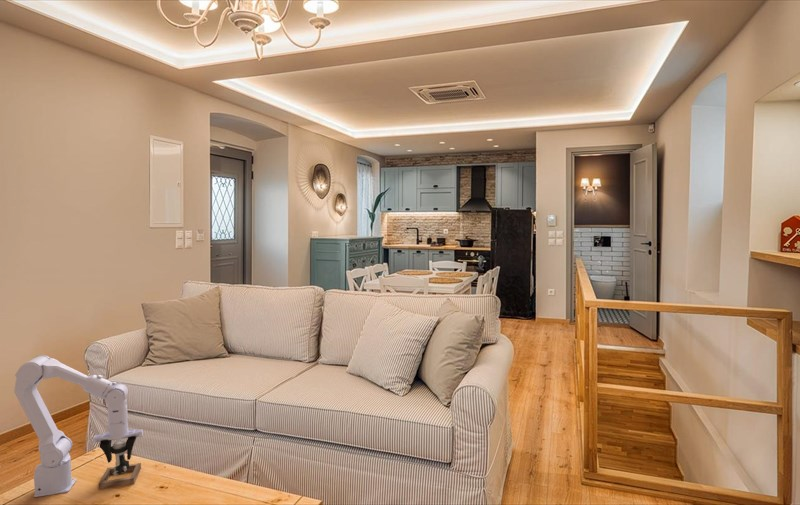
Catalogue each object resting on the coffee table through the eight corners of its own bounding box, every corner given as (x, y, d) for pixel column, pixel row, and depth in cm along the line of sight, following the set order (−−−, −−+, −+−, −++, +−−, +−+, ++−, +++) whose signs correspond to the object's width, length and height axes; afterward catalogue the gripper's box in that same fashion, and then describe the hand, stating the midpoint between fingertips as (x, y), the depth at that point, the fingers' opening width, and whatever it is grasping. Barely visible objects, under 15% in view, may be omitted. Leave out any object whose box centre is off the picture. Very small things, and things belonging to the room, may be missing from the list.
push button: (121, 478, 157) (118, 449, 156) (106, 477, 158) (103, 449, 157) (133, 467, 164) (131, 439, 163) (119, 467, 164) (116, 439, 163)
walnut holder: (98, 489, 154) (98, 483, 154) (107, 473, 164) (107, 467, 164) (134, 483, 157) (134, 478, 157) (141, 468, 167) (140, 462, 167)
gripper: (144, 413, 166) (145, 451, 166) (96, 418, 161) (98, 457, 162) (140, 421, 159) (141, 460, 160) (90, 427, 154) (92, 467, 155)
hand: (119, 459), depth 160 cm, fingers closed on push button, 5 cm apart
